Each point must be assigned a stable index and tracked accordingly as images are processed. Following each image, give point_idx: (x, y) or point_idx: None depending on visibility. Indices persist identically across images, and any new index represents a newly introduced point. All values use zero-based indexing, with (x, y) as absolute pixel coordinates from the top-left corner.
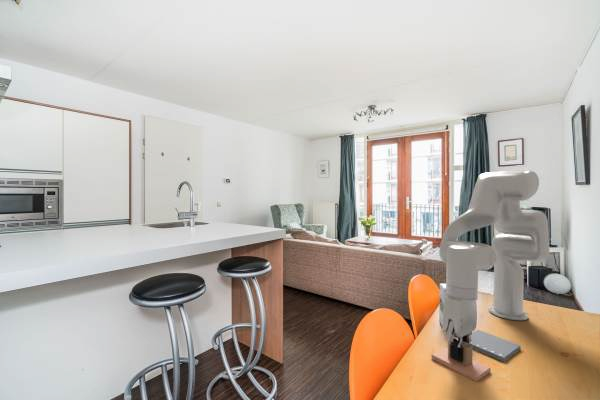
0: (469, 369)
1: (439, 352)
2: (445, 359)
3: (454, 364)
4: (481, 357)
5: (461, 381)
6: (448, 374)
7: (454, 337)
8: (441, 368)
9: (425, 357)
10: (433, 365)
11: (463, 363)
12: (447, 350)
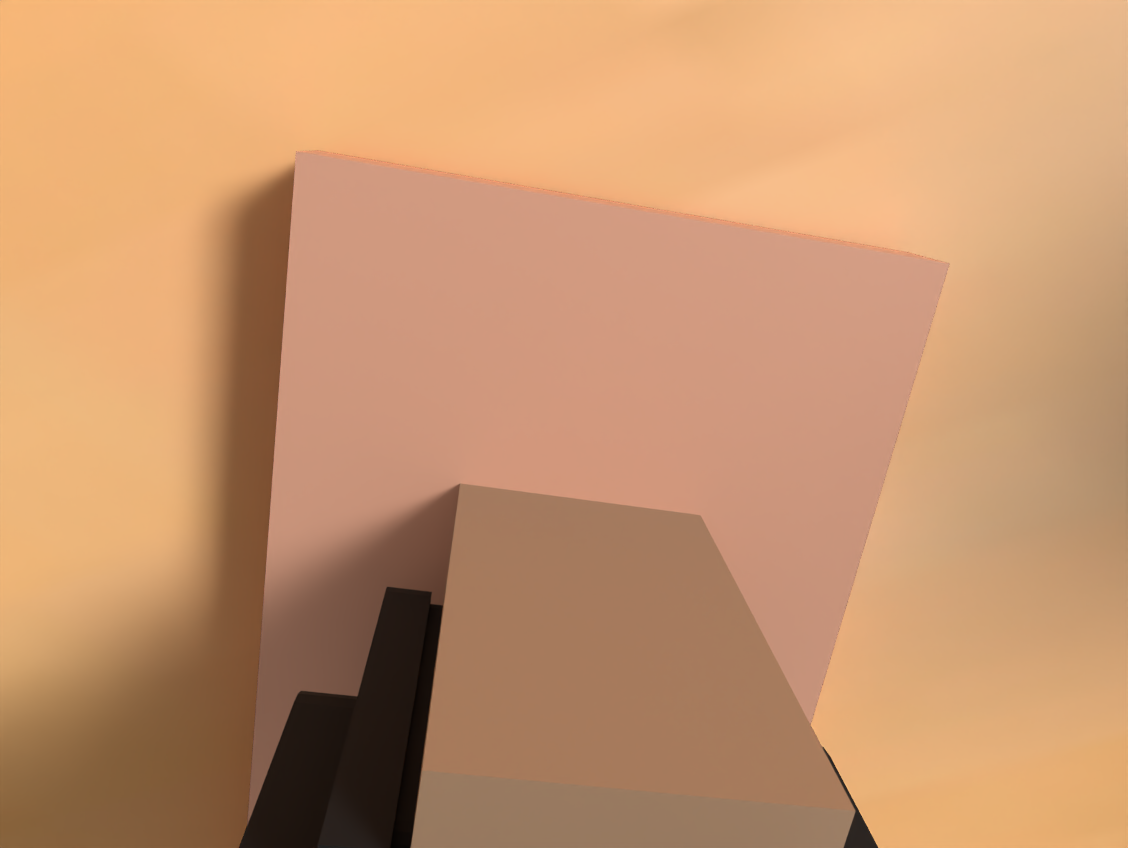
0: None
1: (555, 258)
2: (348, 471)
3: (316, 652)
4: (1088, 765)
5: (68, 786)
6: (69, 593)
7: (843, 831)
8: (145, 439)
9: (263, 14)
10: (104, 287)
11: None
12: (795, 359)
